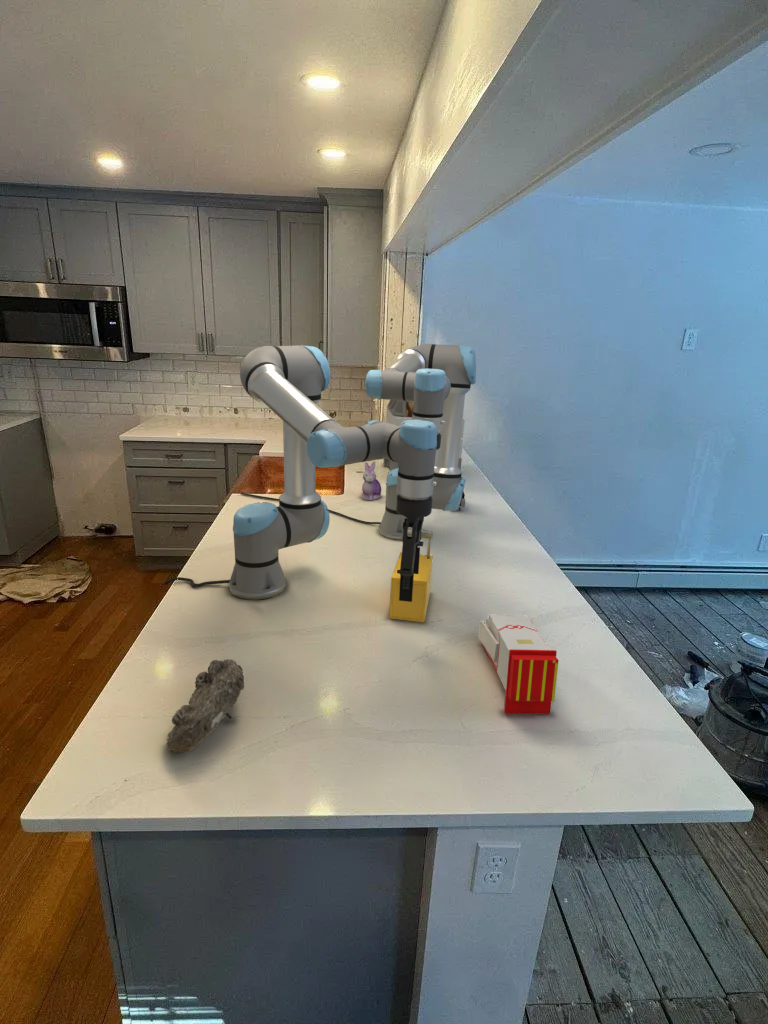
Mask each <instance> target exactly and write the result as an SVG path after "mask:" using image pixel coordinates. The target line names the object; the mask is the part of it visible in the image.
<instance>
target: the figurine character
mask: <svg viewBox="0 0 768 1024" xmlns="http://www.w3.org/2000/svg"><path fill="white" fill-rule="evenodd" d="M465 496H466V494H465V492H464V490H463V494H462V498H461V502H460V505H459V507H458V509H457V510H458V511H461V510H462V509H461V508H465V505H466V497H465Z"/></svg>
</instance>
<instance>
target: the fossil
mask: <svg viewBox="0 0 768 1024" xmlns="http://www.w3.org/2000/svg"><path fill="white" fill-rule="evenodd" d="M243 670H244V669H243V667H242V665H240V664H237V662H236V661H235V660H234V659H232V658H231V659H227V658H226V659H224V660H223V661H222V660H217V659H212V660H211V661H210V663H209V665H208V666H207V671H201V672H199V673H198V674H197V675H196V676H195V680H194V684H195V685H194V687H195V689H194V690H193V693H192V694H191V697H190V698H189V700H188V704H184V705H182V706H181V707H180V709H177V710H176V711H175V713H174V715H173V716H172V718H171V723H172V724H173V727H172V730H171V731H170V732H168V734H167V738H166V741H167V742H166V745H167V749H168V750H169V751H173V752H174V753H176V754H178V753H182V752H188V751H189V752H192V751H193V750H195V748H196V747H197V746H199V744H200V743H201V742H203V741H204V740H205V739H206V738H207V737H208V736H209V735H210V734H211V733H212V732H214V730H215V729H217V727H218V726H219V724H220V722H221V721H222V720H223V719H224V718H225V716H226V717H227V719H229V720H233V717H232V715H230V714H229V710H230V709H231V708H234V706H235V704H236V703H237V702H238V699H239V697H240V695H241V693H242V691H243V690H245V689H244V688H245V675H244V671H243Z"/></svg>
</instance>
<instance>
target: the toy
mask: <svg viewBox="0 0 768 1024" xmlns="http://www.w3.org/2000/svg"><path fill="white" fill-rule="evenodd" d="M477 635H478V637H477V638H478V639H479V641H480V643H481V645H482V647H483V649H484V651H485V652H486V654H487V655H488V658H489V659H490V661H491V663H492V665H493V667H494V669H495V671H496V672H497V675H498V677H499V679H500V682H501V684H502V685H503V688H504V690H505V699H504V709H503V712H504V714H522V715H523V714H528V715H535V714H536V715H540V714H541V715H551V710H552V702H555V700H556V699H555V698H556V688H557V679H558V672H559V671H558V669H559V661H560V660H559V659H558V658H557V649H551V648H550V646H549V645H548V643H547V642H546V640H545V639H544V638H543V636H542V635H541V634H540V632H539V630H538V629H536V626H535V624H533V622H532V619H530V618H529V617H528V615H527V614H501V613H500V614H495V613H493V614H492V613H489V614H488V616H486V617H485V622H484V620H483V619H480V620H479V628H478V634H477Z"/></svg>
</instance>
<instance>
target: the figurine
mask: <svg viewBox="0 0 768 1024" xmlns="http://www.w3.org/2000/svg"><path fill="white" fill-rule="evenodd" d="M375 468H376V461H372V463H371V464H370V465H369V464H368V461H366V462H364V472H363V474H362V479H363V483H362V485H361V491H362V493H361V498H362V500H364V501H365V500H366V501H373V500H377V499H380V498H381V497H382V496H381V495H382V486H381V483H380V481H379V480H378V479H377V474H376V471H375Z"/></svg>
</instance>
